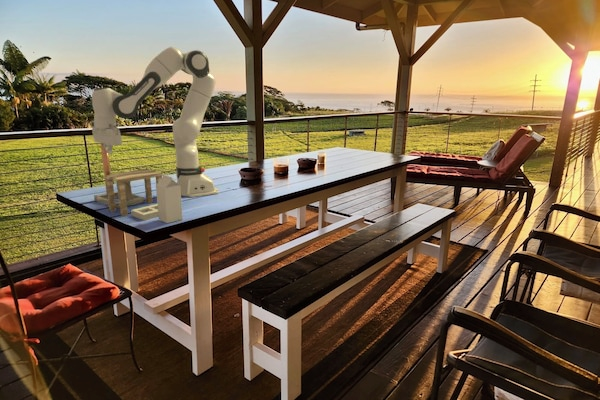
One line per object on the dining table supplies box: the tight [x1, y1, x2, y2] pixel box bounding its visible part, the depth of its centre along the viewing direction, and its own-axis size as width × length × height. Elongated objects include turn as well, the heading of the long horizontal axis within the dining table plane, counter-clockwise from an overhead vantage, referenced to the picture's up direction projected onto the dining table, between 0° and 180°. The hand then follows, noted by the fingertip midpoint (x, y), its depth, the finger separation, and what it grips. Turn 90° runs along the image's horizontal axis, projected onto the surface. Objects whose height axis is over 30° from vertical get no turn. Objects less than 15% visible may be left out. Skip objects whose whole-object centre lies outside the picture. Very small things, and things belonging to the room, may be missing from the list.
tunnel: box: [104, 168, 164, 217], centre depth 175 cm, size 13×20×16 cm, turn 142°
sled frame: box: [93, 143, 145, 209], centre depth 183 cm, size 20×14×28 cm
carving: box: [116, 181, 133, 200], centre depth 182 cm, size 6×8×12 cm
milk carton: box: [155, 174, 183, 224], centre depth 161 cm, size 7×7×19 cm
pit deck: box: [130, 203, 159, 221], centre depth 170 cm, size 10×14×2 cm
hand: (109, 153), depth 183 cm, fingers closed
